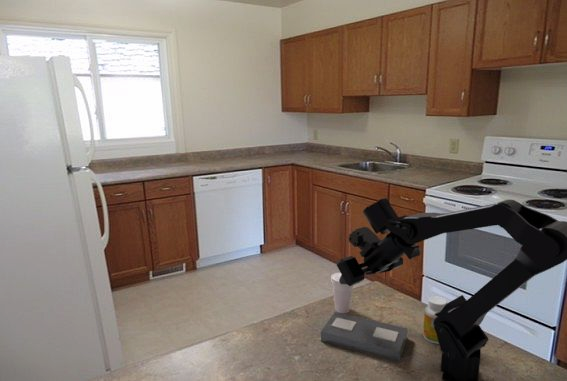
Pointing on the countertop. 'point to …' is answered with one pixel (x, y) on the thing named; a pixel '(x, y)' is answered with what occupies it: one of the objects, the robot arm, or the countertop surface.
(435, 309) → the supplement bottle
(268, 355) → the countertop surface
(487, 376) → the countertop surface
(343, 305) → the smoothie
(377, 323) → the label box
